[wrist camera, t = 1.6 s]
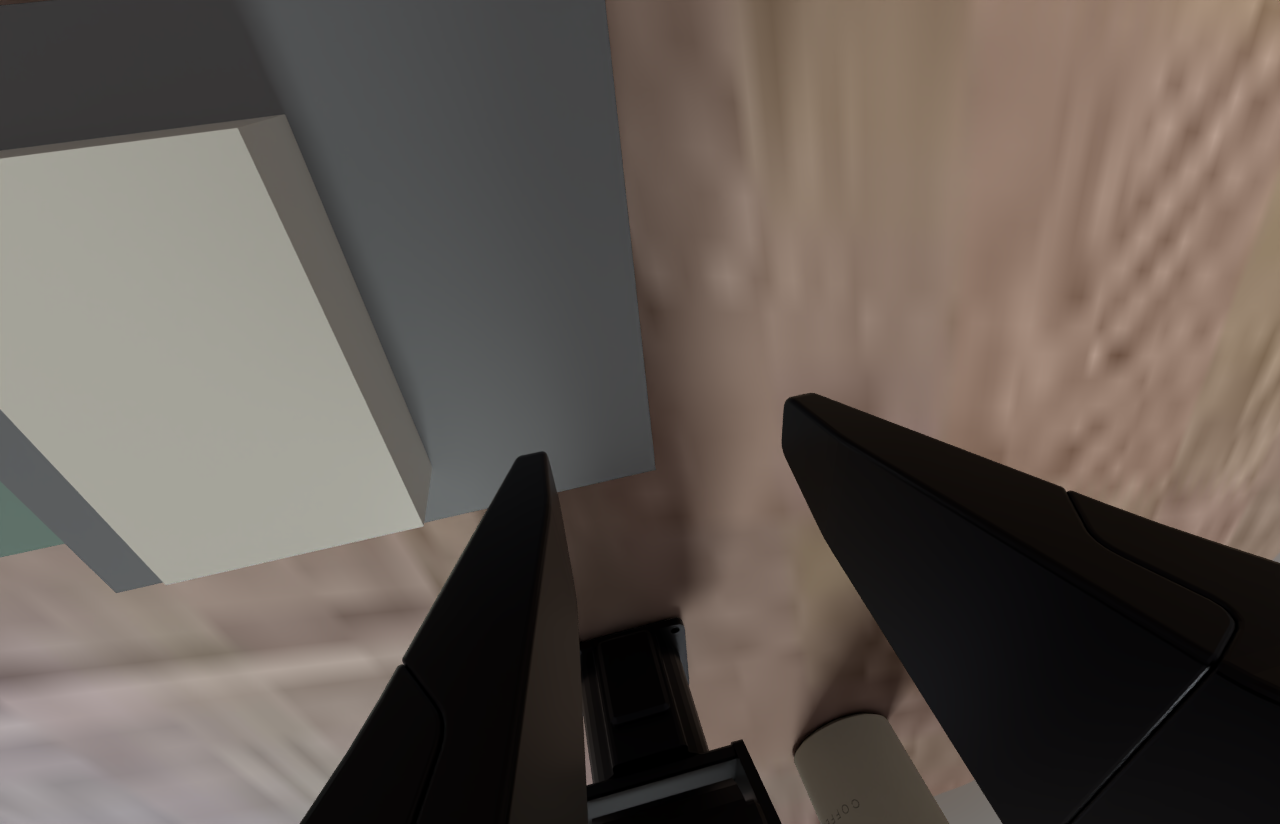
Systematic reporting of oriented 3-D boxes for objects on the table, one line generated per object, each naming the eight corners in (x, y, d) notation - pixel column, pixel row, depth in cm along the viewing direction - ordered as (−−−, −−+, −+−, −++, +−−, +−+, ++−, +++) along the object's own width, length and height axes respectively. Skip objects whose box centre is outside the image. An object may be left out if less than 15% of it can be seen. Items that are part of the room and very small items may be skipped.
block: (432, 467, 16) (423, 526, 14) (208, 515, 15) (165, 585, 13) (285, 114, 10) (237, 128, 8) (-69, 159, 10) (-211, 185, 8)
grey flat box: (629, 404, 21) (655, 469, 18) (181, 499, 19) (116, 593, 15) (573, -27, 13) (599, -53, 10) (-179, 50, 11) (-449, 49, 8)
